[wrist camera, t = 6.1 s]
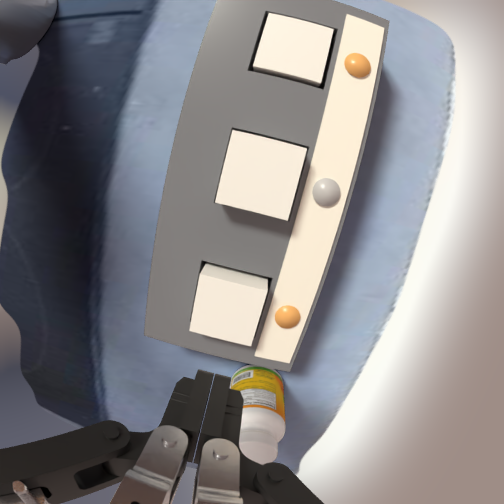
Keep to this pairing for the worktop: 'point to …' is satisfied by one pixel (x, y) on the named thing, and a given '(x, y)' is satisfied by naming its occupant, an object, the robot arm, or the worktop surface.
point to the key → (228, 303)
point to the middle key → (260, 174)
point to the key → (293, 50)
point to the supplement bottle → (260, 412)
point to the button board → (309, 185)
